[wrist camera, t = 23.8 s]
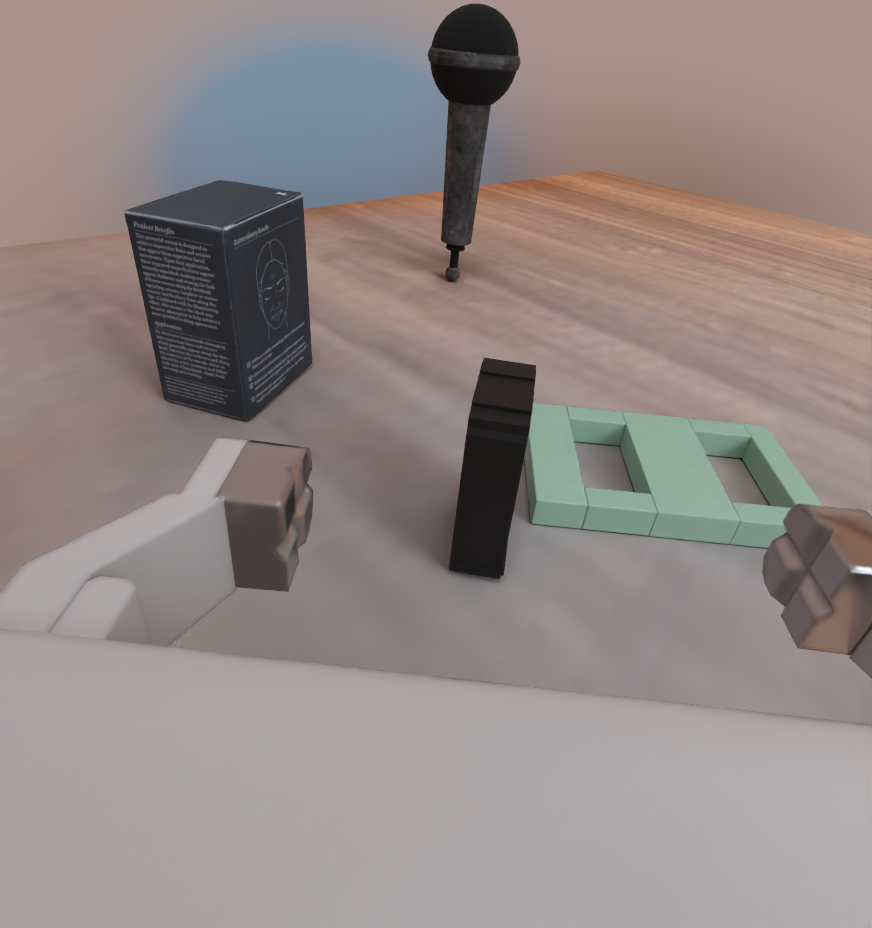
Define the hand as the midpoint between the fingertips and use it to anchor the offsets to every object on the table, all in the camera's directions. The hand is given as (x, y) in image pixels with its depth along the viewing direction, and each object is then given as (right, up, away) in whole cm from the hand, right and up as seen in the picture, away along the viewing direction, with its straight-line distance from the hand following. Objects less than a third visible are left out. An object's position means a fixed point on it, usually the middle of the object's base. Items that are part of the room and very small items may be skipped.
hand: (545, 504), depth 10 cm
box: (-14, +5, +27) cm, 31 cm away
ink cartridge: (0, -3, +17) cm, 18 cm away
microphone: (0, +17, +45) cm, 48 cm away
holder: (+10, 0, +22) cm, 24 cm away
